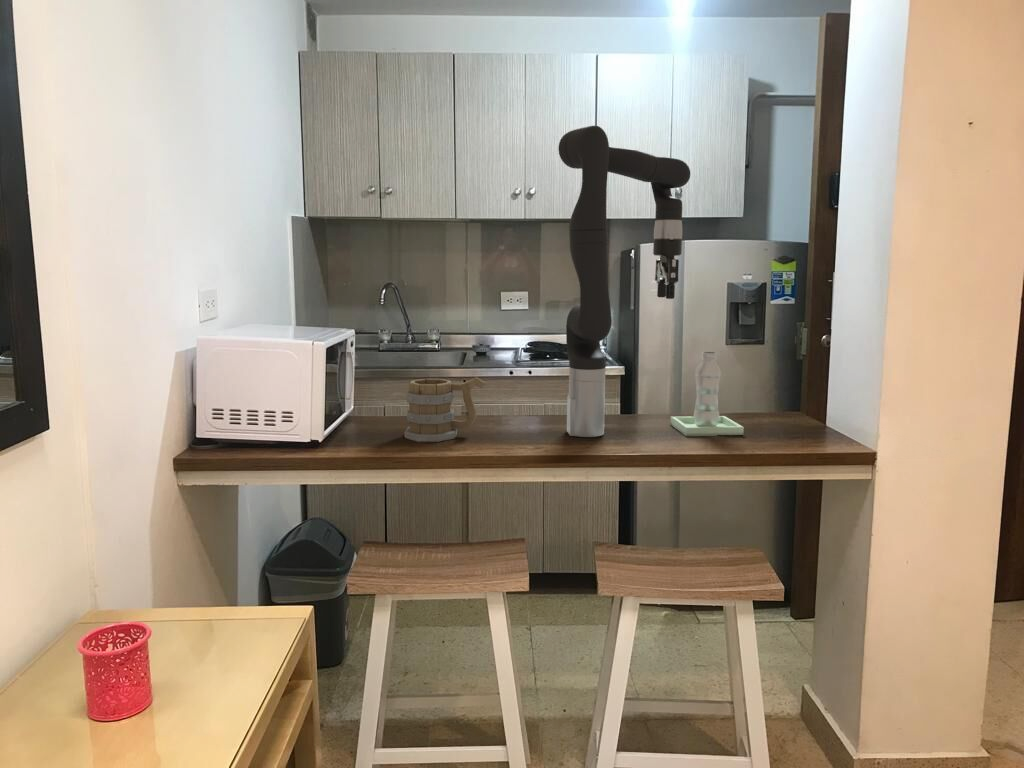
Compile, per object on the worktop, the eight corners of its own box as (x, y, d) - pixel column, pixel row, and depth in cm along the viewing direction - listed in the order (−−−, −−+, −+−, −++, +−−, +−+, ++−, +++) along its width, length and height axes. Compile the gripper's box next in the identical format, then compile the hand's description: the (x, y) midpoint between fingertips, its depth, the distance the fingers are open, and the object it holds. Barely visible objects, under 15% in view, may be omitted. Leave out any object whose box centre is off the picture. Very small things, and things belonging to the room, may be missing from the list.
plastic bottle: (722, 430, 191) (725, 354, 188) (695, 430, 191) (699, 353, 188) (715, 425, 198) (718, 351, 194) (690, 425, 198) (693, 351, 194)
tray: (685, 436, 187) (686, 427, 187) (670, 424, 201) (670, 416, 201) (743, 435, 188) (743, 427, 188) (724, 423, 202) (724, 416, 202)
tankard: (402, 441, 180) (401, 381, 177) (409, 430, 192) (408, 373, 190) (483, 442, 180) (483, 381, 177) (486, 431, 192) (486, 374, 190)
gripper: (647, 238, 206) (645, 296, 208) (661, 236, 192) (659, 299, 194) (673, 238, 206) (671, 297, 209) (689, 236, 192) (686, 299, 195)
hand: (665, 298), depth 201 cm, fingers open, 8 cm apart
